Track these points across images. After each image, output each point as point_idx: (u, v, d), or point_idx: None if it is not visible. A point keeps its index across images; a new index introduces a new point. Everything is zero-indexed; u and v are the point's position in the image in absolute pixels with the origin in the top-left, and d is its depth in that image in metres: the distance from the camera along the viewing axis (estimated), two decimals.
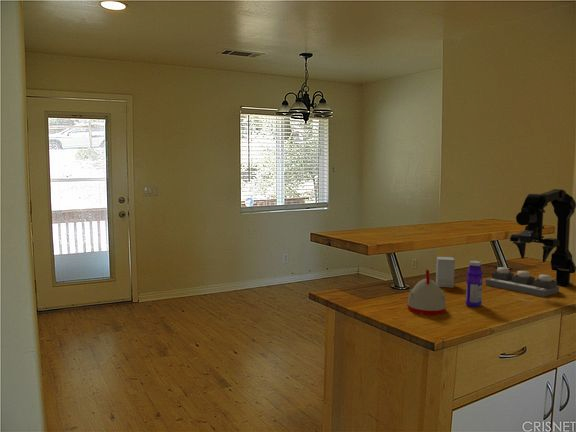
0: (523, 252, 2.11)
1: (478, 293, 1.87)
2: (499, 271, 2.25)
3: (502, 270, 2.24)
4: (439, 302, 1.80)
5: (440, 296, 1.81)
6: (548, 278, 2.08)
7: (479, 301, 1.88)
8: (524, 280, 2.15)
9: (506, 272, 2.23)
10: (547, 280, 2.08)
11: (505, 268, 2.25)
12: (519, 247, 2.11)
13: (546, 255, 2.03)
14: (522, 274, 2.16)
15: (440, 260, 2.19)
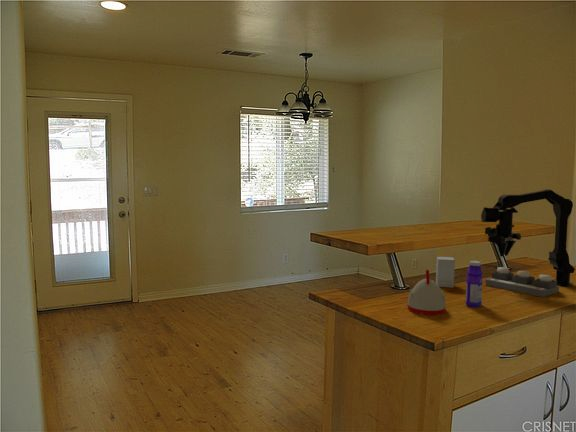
0: (506, 250, 2.26)
1: (478, 293, 1.87)
2: (499, 271, 2.25)
3: (502, 270, 2.24)
4: (439, 302, 1.80)
5: (440, 296, 1.81)
6: (548, 278, 2.08)
7: (479, 301, 1.88)
8: (524, 280, 2.15)
9: (506, 272, 2.23)
10: (547, 280, 2.08)
11: (505, 268, 2.25)
12: None
13: (500, 250, 2.23)
14: (522, 274, 2.16)
15: (440, 260, 2.19)
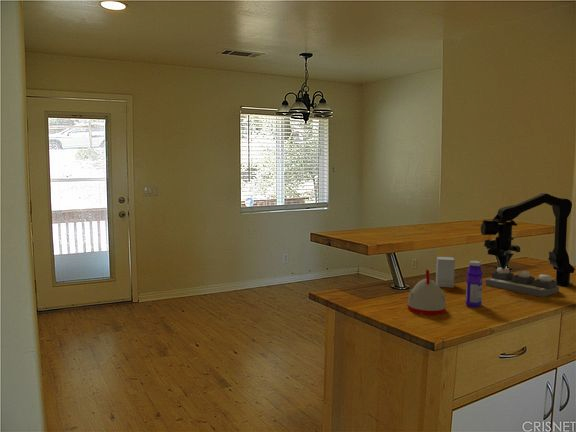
0: None
1: (478, 293, 1.87)
2: (499, 271, 2.25)
3: (502, 270, 2.24)
4: (439, 302, 1.80)
5: (440, 296, 1.81)
6: (548, 278, 2.08)
7: (479, 301, 1.88)
8: (524, 280, 2.15)
9: (506, 272, 2.23)
10: (547, 280, 2.08)
11: (505, 268, 2.25)
12: None
13: (501, 262, 2.25)
14: (522, 274, 2.16)
15: (440, 260, 2.19)
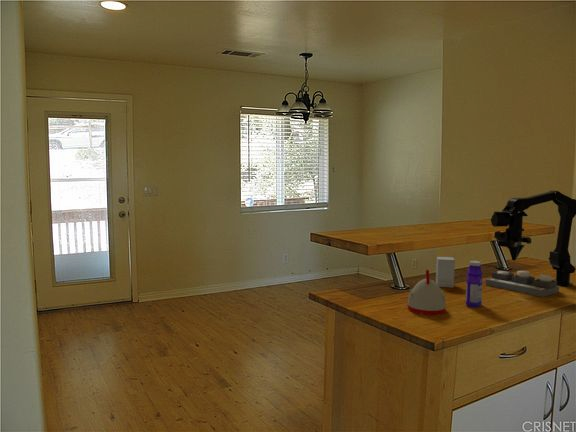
0: None
1: (478, 293, 1.87)
2: None
3: None
4: (439, 302, 1.80)
5: (440, 296, 1.81)
6: (548, 278, 2.08)
7: (479, 301, 1.88)
8: (524, 280, 2.15)
9: None
10: (547, 280, 2.08)
11: (505, 272, 2.26)
12: None
13: (512, 254, 2.21)
14: (522, 274, 2.16)
15: (440, 260, 2.19)
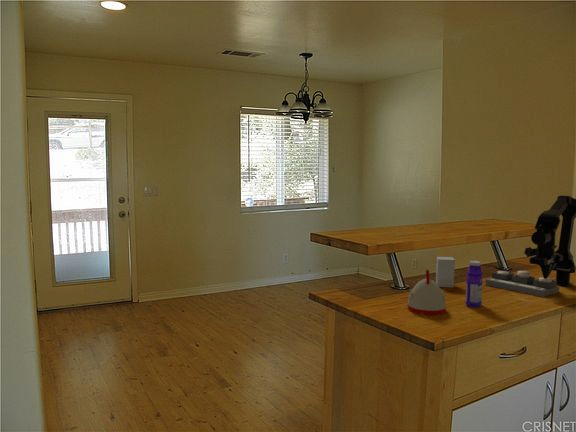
0: None
1: (478, 293, 1.87)
2: None
3: None
4: (439, 302, 1.80)
5: (440, 296, 1.81)
6: (548, 281, 2.08)
7: (479, 301, 1.88)
8: (524, 280, 2.15)
9: None
10: None
11: (505, 272, 2.26)
12: None
13: (544, 272, 2.10)
14: (522, 274, 2.16)
15: (440, 260, 2.19)
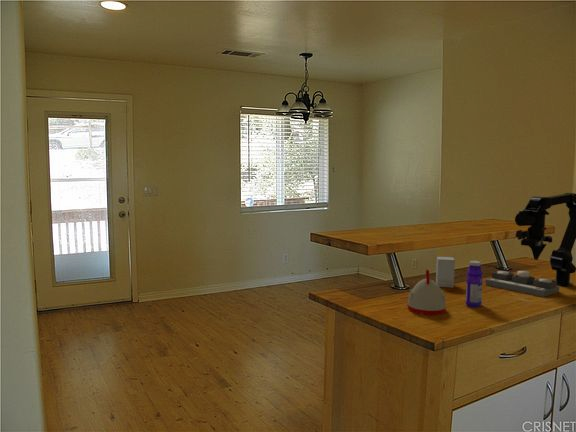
0: None
1: (478, 293, 1.87)
2: None
3: None
4: (439, 302, 1.80)
5: (440, 296, 1.81)
6: (548, 282, 2.09)
7: (479, 301, 1.88)
8: (524, 280, 2.15)
9: None
10: None
11: (505, 272, 2.26)
12: None
13: (534, 253, 2.18)
14: (522, 274, 2.16)
15: (440, 260, 2.19)
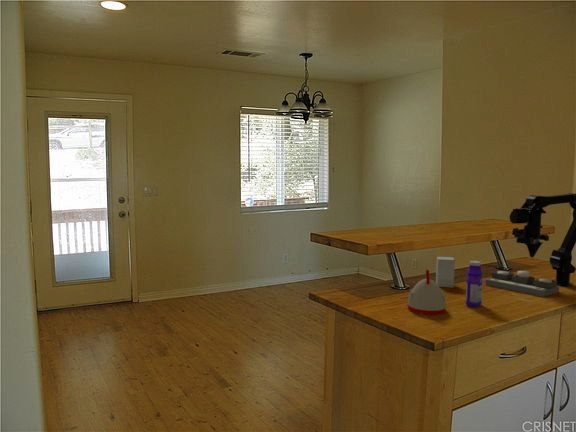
0: None
1: (478, 293, 1.87)
2: None
3: None
4: (439, 302, 1.80)
5: (440, 296, 1.81)
6: (548, 282, 2.09)
7: (479, 301, 1.88)
8: (524, 280, 2.15)
9: None
10: None
11: (505, 272, 2.26)
12: None
13: (530, 251, 2.21)
14: (522, 274, 2.16)
15: (440, 260, 2.19)
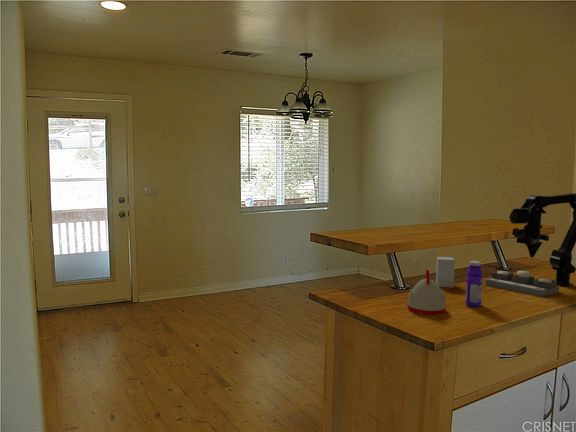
0: None
1: (478, 293, 1.87)
2: None
3: None
4: (439, 302, 1.80)
5: (440, 296, 1.81)
6: (548, 282, 2.09)
7: (479, 301, 1.88)
8: (524, 280, 2.15)
9: None
10: None
11: (505, 272, 2.26)
12: None
13: (530, 251, 2.21)
14: (522, 274, 2.16)
15: (440, 260, 2.19)
